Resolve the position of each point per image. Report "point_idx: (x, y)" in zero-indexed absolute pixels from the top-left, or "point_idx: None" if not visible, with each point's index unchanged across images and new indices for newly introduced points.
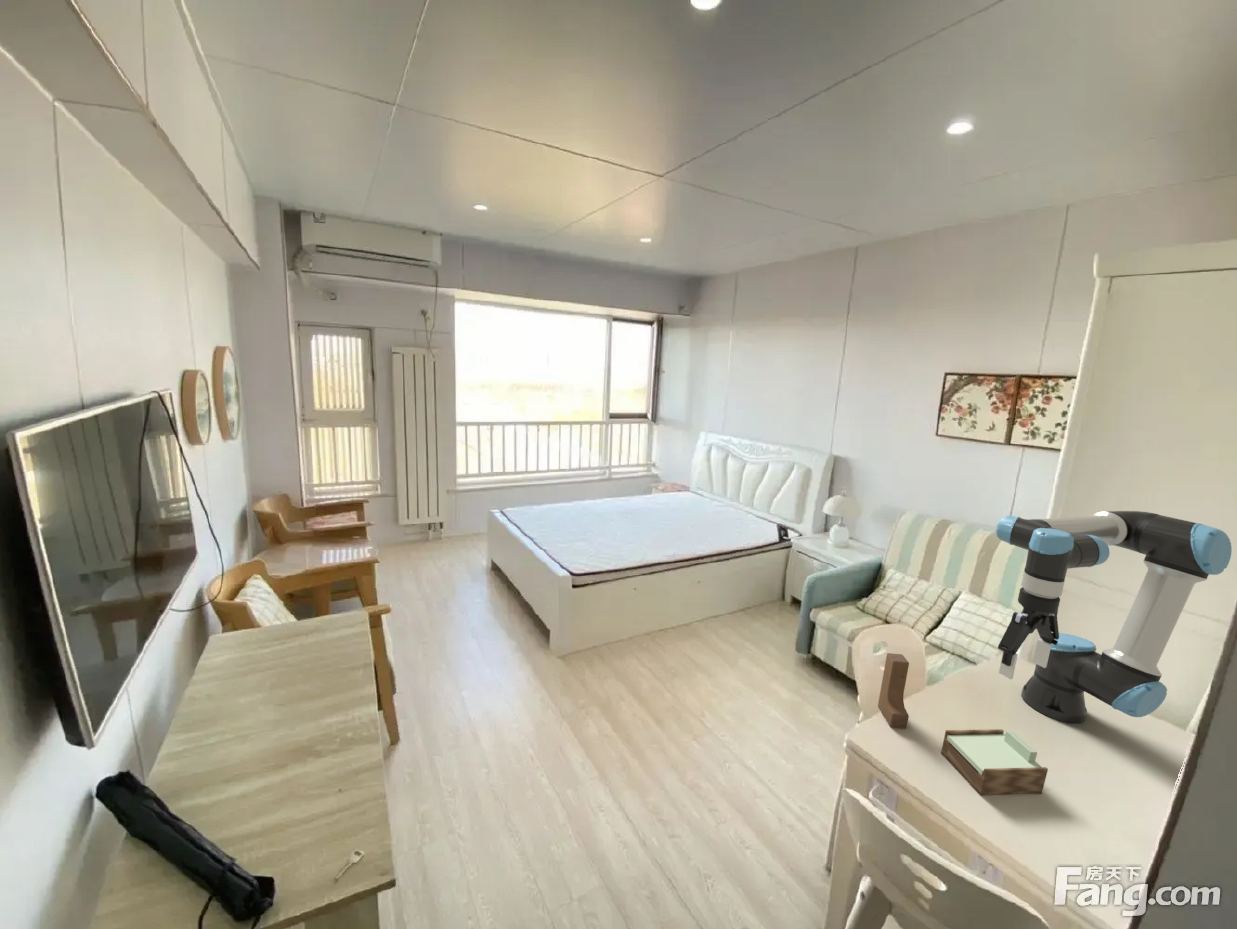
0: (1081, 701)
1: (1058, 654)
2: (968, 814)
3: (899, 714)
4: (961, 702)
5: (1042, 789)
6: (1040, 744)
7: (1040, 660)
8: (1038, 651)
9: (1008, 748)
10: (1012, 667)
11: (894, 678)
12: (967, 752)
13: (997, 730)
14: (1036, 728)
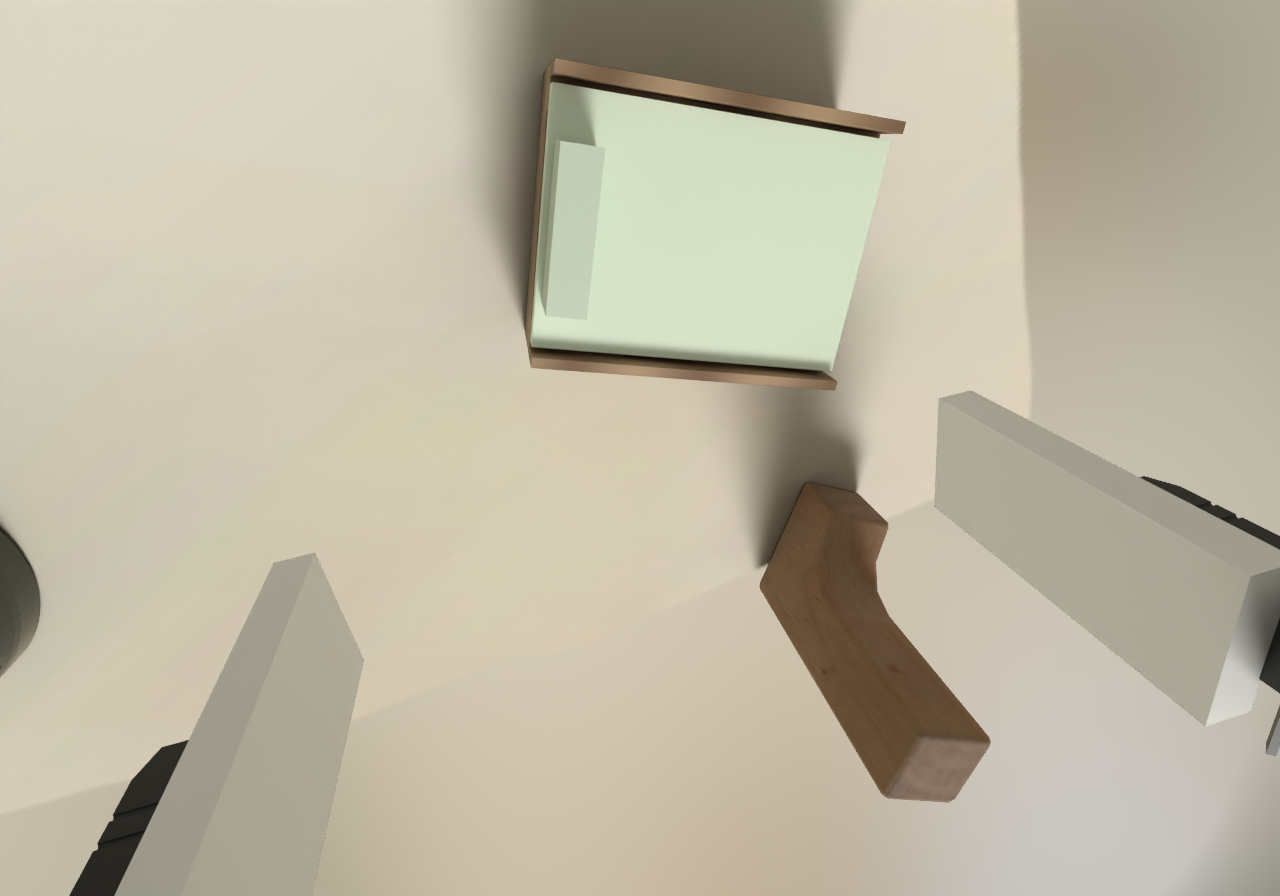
0: None
1: None
2: (972, 48)
3: (866, 520)
4: (413, 613)
5: (545, 71)
6: (234, 349)
7: (322, 650)
8: (315, 778)
9: (609, 252)
10: (1090, 458)
11: (918, 663)
12: (846, 259)
13: (567, 363)
14: (149, 448)
